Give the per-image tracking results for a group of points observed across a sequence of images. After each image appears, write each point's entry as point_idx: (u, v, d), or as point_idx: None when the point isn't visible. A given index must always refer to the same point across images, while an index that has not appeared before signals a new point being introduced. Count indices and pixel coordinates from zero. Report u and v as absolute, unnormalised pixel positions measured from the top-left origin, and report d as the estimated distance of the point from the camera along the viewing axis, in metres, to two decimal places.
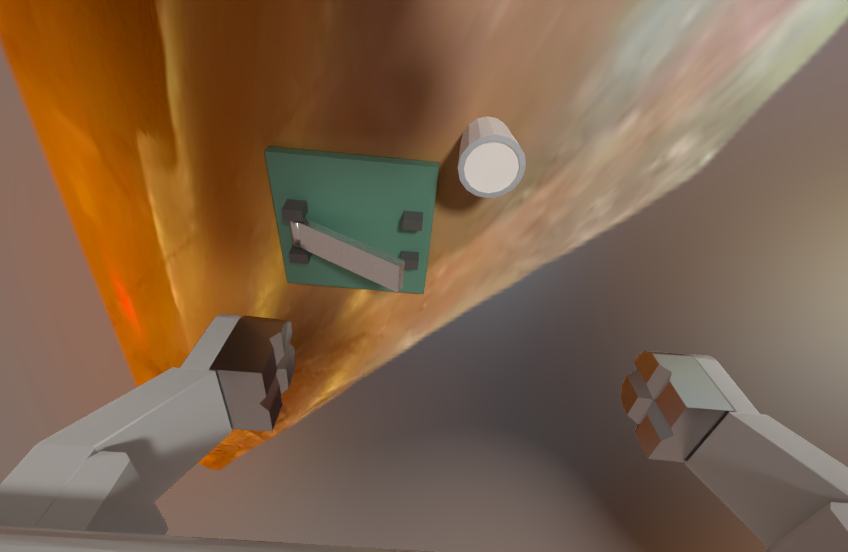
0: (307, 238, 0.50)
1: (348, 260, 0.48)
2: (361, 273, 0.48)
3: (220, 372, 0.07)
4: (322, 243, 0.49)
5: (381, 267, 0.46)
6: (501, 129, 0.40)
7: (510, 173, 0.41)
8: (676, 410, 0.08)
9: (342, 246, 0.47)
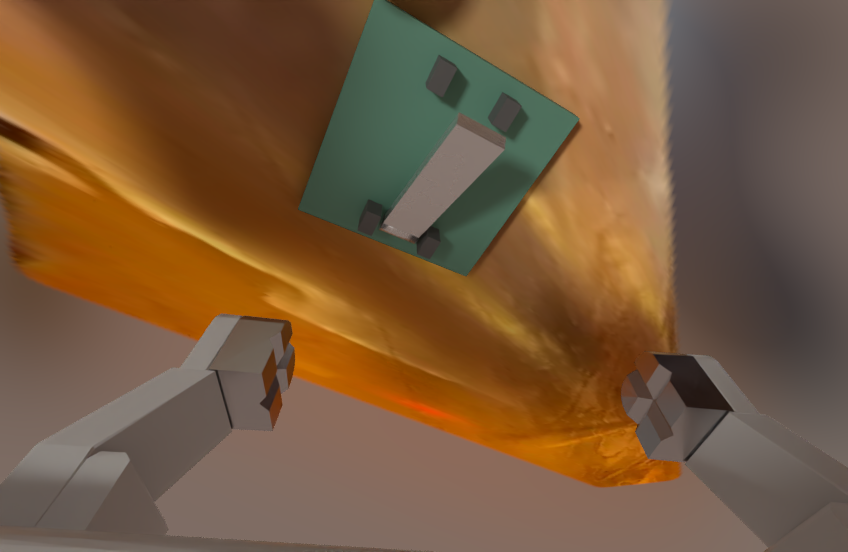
0: (405, 224, 0.39)
1: (439, 193, 0.34)
2: (462, 186, 0.33)
3: (220, 372, 0.07)
4: (412, 210, 0.37)
5: (455, 151, 0.30)
6: None
7: None
8: (676, 410, 0.08)
9: (417, 189, 0.34)
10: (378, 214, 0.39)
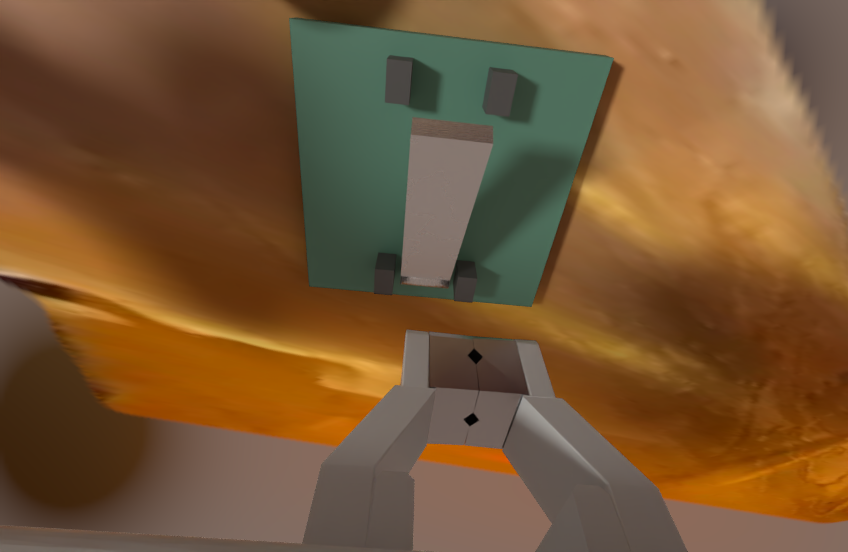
0: (425, 270, 0.31)
1: (443, 225, 0.25)
2: (465, 208, 0.24)
3: (438, 389, 0.07)
4: (423, 253, 0.29)
5: (431, 170, 0.21)
6: None
7: None
8: None
9: (414, 229, 0.26)
10: (390, 268, 0.31)
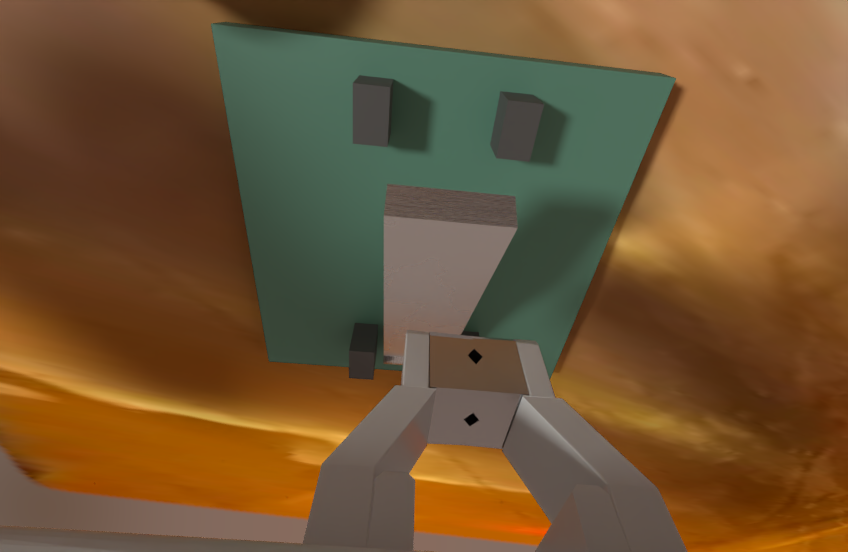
0: None
1: (437, 313, 0.18)
2: (470, 297, 0.16)
3: (438, 389, 0.07)
4: None
5: (418, 257, 0.14)
6: None
7: None
8: None
9: (397, 316, 0.19)
10: (369, 348, 0.24)
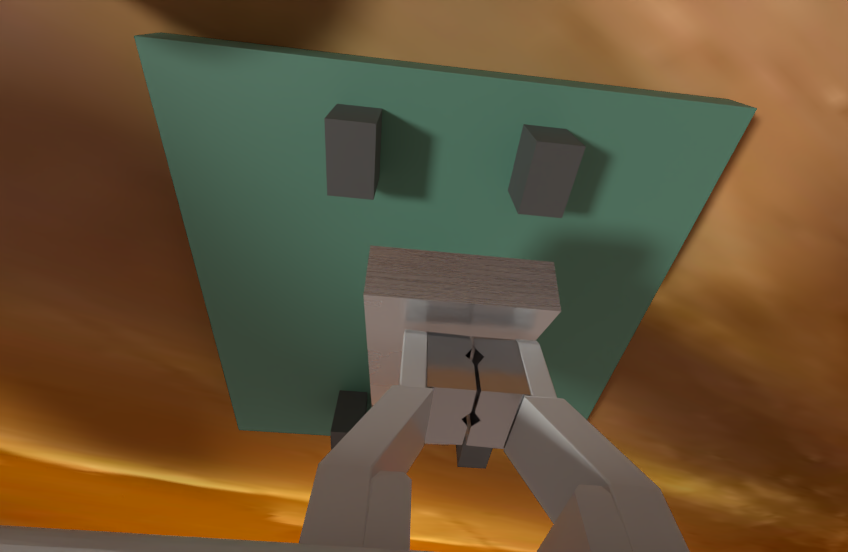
0: None
1: None
2: None
3: (436, 389, 0.07)
4: None
5: None
6: None
7: None
8: (478, 394, 0.08)
9: None
10: None
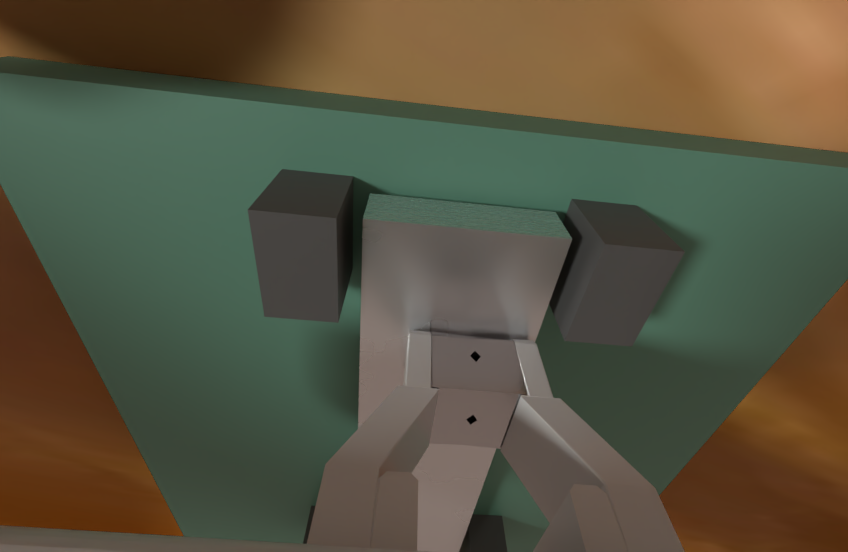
0: None
1: (442, 449, 0.12)
2: None
3: (441, 390, 0.07)
4: None
5: (416, 317, 0.09)
6: None
7: None
8: None
9: None
10: None
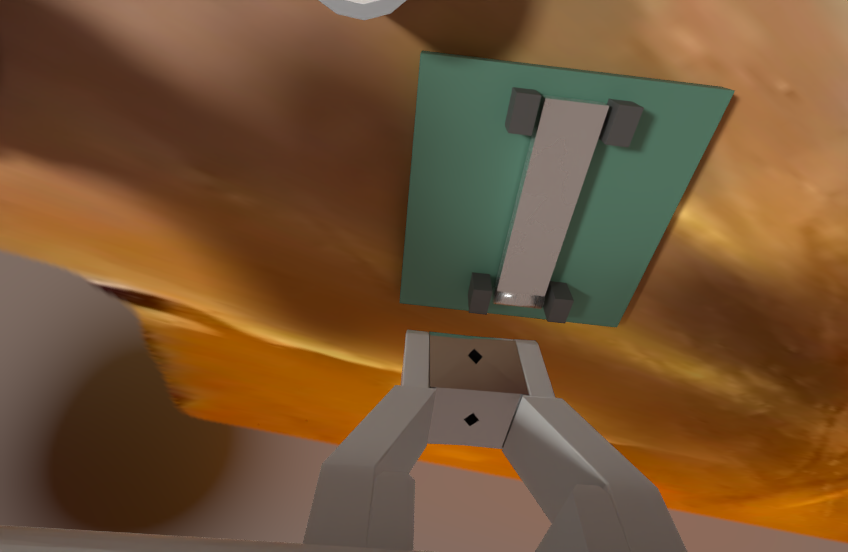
0: (523, 280, 0.32)
1: (552, 209, 0.29)
2: (576, 184, 0.28)
3: (438, 389, 0.07)
4: (526, 253, 0.31)
5: (554, 137, 0.26)
6: None
7: None
8: None
9: (524, 216, 0.29)
10: (488, 289, 0.32)
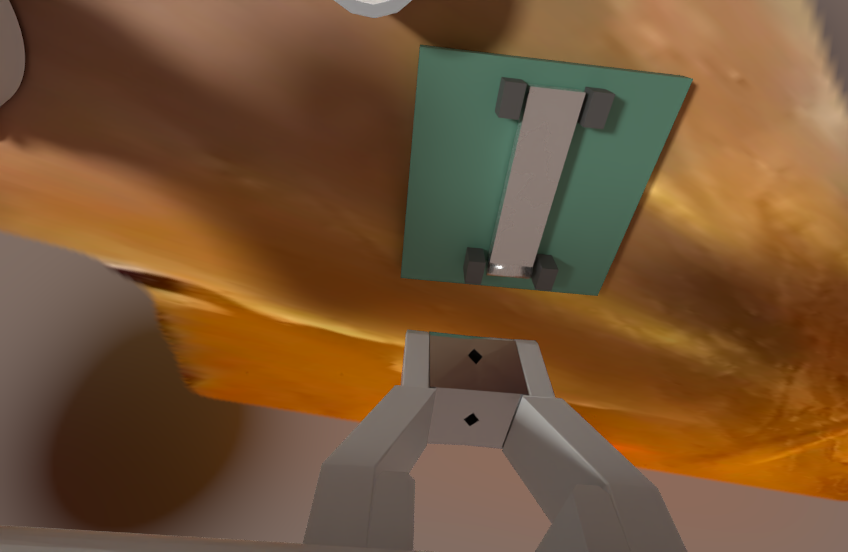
0: (513, 252, 0.36)
1: (538, 186, 0.32)
2: (558, 163, 0.31)
3: (438, 389, 0.07)
4: (515, 227, 0.34)
5: (538, 121, 0.29)
6: None
7: None
8: None
9: (513, 193, 0.33)
10: (482, 260, 0.36)
